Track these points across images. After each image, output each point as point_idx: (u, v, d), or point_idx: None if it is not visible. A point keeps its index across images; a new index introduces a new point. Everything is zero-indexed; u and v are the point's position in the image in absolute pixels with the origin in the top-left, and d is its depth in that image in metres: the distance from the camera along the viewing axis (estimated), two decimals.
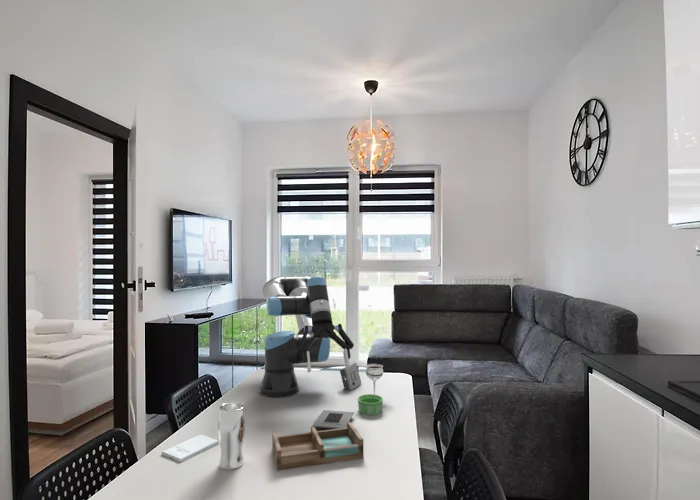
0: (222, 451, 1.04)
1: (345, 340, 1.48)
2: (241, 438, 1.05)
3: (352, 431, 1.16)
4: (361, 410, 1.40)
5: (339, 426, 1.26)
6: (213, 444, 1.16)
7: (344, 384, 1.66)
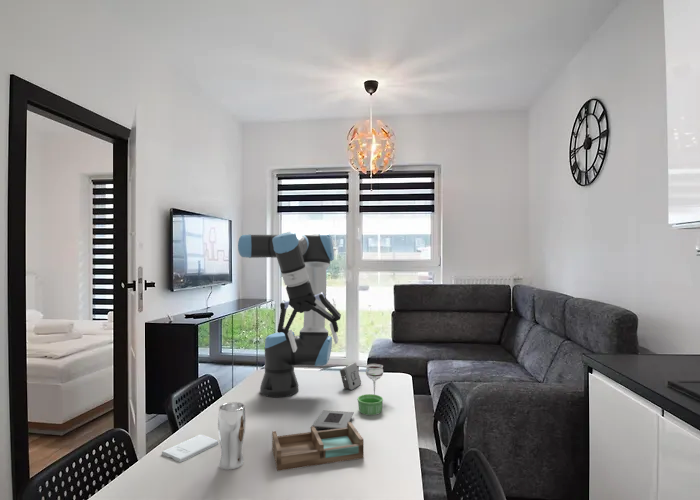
0: (222, 451, 1.04)
1: None
2: (241, 438, 1.05)
3: (352, 431, 1.16)
4: (361, 410, 1.40)
5: (339, 426, 1.26)
6: (213, 444, 1.16)
7: (344, 384, 1.66)
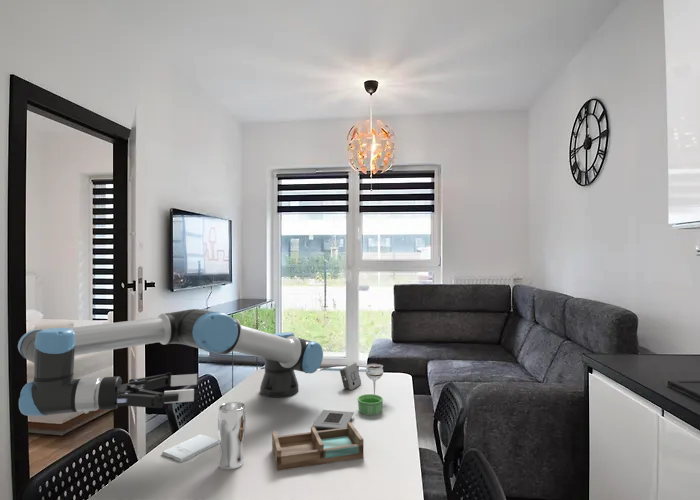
0: (222, 451, 1.04)
1: None
2: (241, 438, 1.05)
3: (352, 431, 1.16)
4: (361, 410, 1.40)
5: (339, 426, 1.26)
6: (213, 444, 1.16)
7: (344, 384, 1.66)
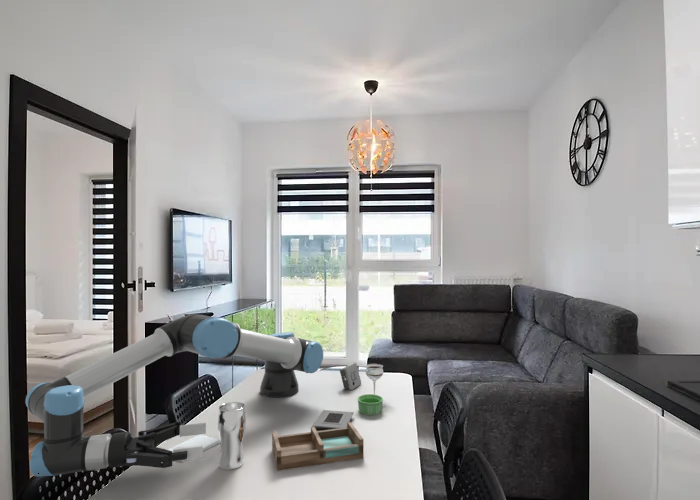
0: (222, 451, 1.04)
1: None
2: (241, 438, 1.05)
3: (352, 431, 1.16)
4: (361, 410, 1.40)
5: (339, 426, 1.26)
6: (214, 443, 1.17)
7: (344, 384, 1.66)
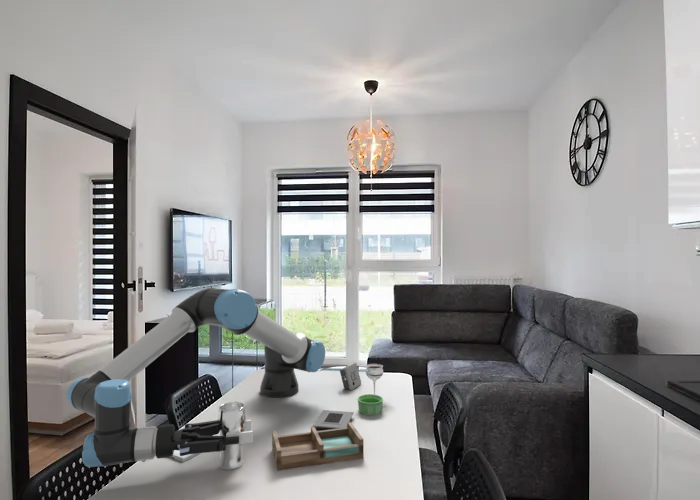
0: (222, 451, 1.04)
1: None
2: None
3: (352, 431, 1.16)
4: (361, 410, 1.40)
5: (339, 426, 1.26)
6: None
7: (344, 384, 1.66)
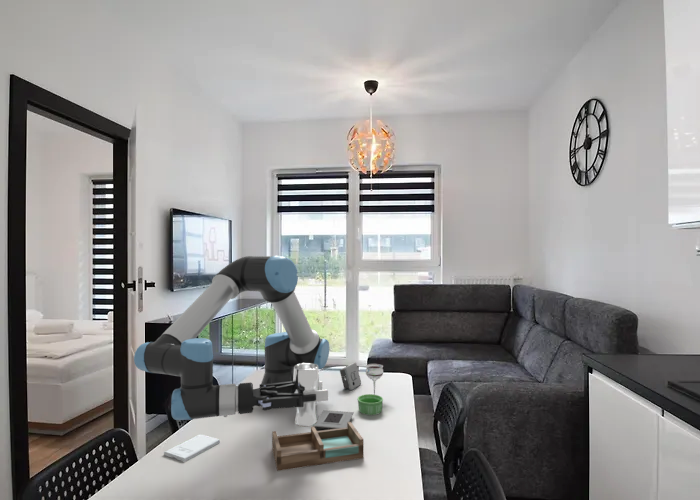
0: (298, 409, 1.08)
1: None
2: None
3: (352, 431, 1.16)
4: (361, 410, 1.40)
5: (339, 426, 1.26)
6: (215, 443, 1.17)
7: (344, 384, 1.66)
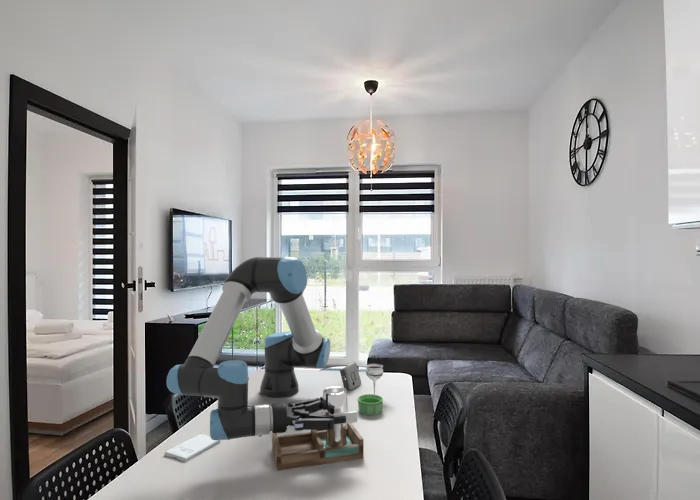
0: (328, 432, 1.12)
1: None
2: None
3: (352, 431, 1.16)
4: (361, 410, 1.40)
5: None
6: (215, 443, 1.17)
7: (344, 384, 1.66)
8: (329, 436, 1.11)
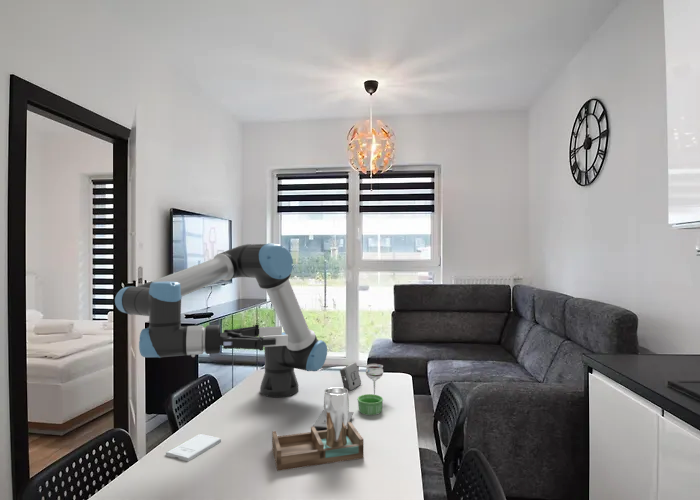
0: (329, 432, 1.12)
1: None
2: (346, 420, 1.12)
3: (352, 431, 1.16)
4: (361, 410, 1.40)
5: None
6: (216, 442, 1.17)
7: (344, 384, 1.66)
8: (329, 436, 1.11)
